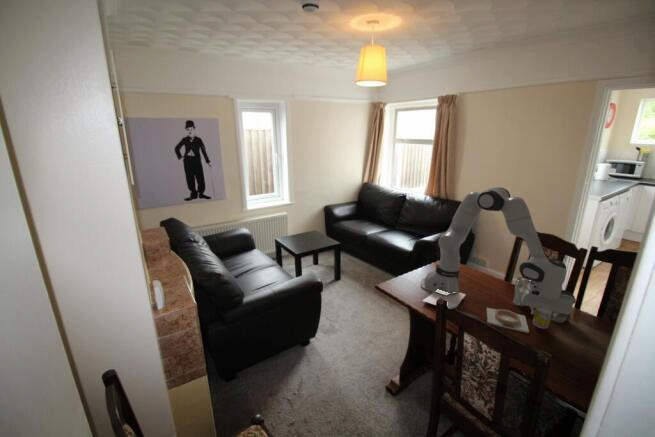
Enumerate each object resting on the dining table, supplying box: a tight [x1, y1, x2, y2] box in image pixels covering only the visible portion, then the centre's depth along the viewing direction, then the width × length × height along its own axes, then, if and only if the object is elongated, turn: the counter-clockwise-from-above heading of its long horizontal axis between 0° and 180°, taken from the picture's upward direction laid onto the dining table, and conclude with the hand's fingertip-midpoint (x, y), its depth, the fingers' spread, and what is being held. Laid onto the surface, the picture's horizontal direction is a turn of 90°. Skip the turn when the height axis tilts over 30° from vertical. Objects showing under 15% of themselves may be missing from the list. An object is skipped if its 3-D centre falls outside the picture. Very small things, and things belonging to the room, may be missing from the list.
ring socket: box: [486, 307, 530, 334], centre depth 155 cm, size 18×14×3 cm
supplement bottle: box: [532, 304, 553, 329], centre depth 147 cm, size 7×7×13 cm
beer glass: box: [512, 276, 532, 307], centre depth 168 cm, size 7×7×15 cm
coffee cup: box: [550, 289, 577, 324], centre depth 155 cm, size 11×11×15 cm
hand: (542, 316), depth 148 cm, fingers closed on supplement bottle, 7 cm apart
